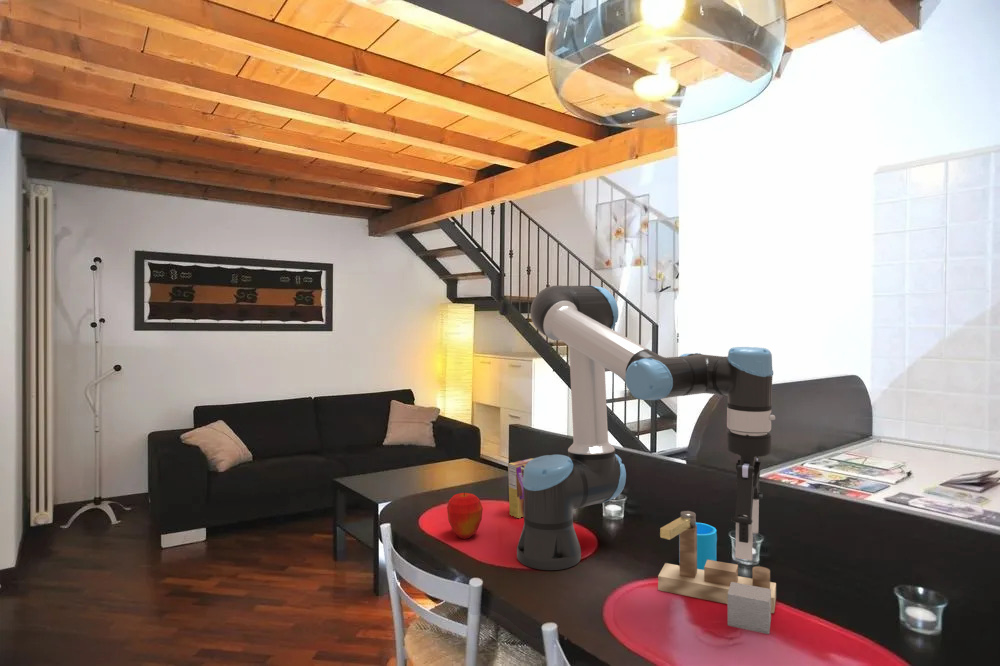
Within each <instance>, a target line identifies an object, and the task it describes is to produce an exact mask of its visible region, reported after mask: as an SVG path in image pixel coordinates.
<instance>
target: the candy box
mask: <svg viewBox="0 0 1000 666" xmlns="http://www.w3.org/2000/svg"><path fill="white" fill-rule="evenodd" d="M532 459H533V458H527V459H523V460H517V461H515V462H514V461H513V462H510V463H507V469H508V471H507V473H508V475H507V477H508V500H509V501H508V502H509V505H508V507H509V509H508V510H509V516H510V515H511V517H512V516H514V517H513V518H515V517H516V518H515V519H517V518H519V519H522V518H521V517H523V518H524V491H523V475H524V468H525V465H526V464H527V463H528V462H529V461H530V460H532Z"/></svg>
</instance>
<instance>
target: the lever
mask: <svg viewBox="0 0 1000 666" xmlns="http://www.w3.org/2000/svg"><path fill="white" fill-rule="evenodd" d="M696 517H697V515H696V513H695V512H694V511H691V510H682V511H680V517H678V518H676V519H674V520H673V521H671V522H669V523H667V524H665V525H663V526H662V527H660V528H659V529H660V530H659V531H660V532H659V536H660V538H661V539H665V540H669V541H670V540H672V539H674V538H675V537H677V536H679V534H680V533H682V532H683V531H685V530H687V529H688V528H690V527H695V526H696V523H697V521H696Z"/></svg>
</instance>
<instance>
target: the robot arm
mask: <svg viewBox="0 0 1000 666" xmlns="http://www.w3.org/2000/svg"><path fill="white" fill-rule="evenodd" d="M530 318H531V319H530V320H531V321H532V324H533V326H534V327H535V328H536V330H538V331H539V332H540V333H541V334H542V335H544V336H545V337H546V338H549V339H550V340H552V341H556V342H557V341H562V342H564V344H565V345H566V346H568V349H569V350H568V351H569V371H570V372H569V373H570V375H569V376H570V394H571V413H572V416H571V417H572V436H573V440H572V441H573V442H572V444H571V445H570V446H569V447H568V449H567V455H564V454H550V455H549V454H546V455H545V454H544V455H540V456H536V457H533V458H531V459H532V460H530V461H529V462H528V463H527V464H526V465H525V468H524V475H523V491H524V517H523V527H522V530H521V533H520V537H519V538H518V539H519V540H518V543H517V547H516V558H517V560H518V562H520V564H522V565H524V566H526V567H528V568H531V569H536V570H540V571H541V570H542V571H559V570H566V569H569V568H572V567H574V566H577V564H579V563H580V561H581V559H582V549H581V545H580V541H579V539H578V536H577V534H576V531H575V526H574V510H576V509H579V508H584V507H588V506H592V505H598V504H604V503H606V502H608V501H612V500H614V499H616V498H618V497H619V495H620V494H622V492H623V490H624V488H625V486H626V481H627V480H626V479H627V472H626V467H625V464H624V463H622V461H623V460H622V458H621V457H620V456H619V455H618V454H616V449H615V447H614V446H613V445H612V444H611V443H610V442H609V434H608V433H609V430H608V429H609V428H608V410H607V391H606V390H607V389H606V387H607V384H606V370H608V371H609V372H610V371H611V372H612V373H613V374H615V375H616V376H618V377H619V378H621V379H623V380H625V385H626V388H627V390H629V393H630V395H632V397H634V398H635V399H638V400H640V401H658V400H663V399H669V398H675V397H676V398H677V397H684V396H692V395H693V396H694V395H699V394H709V395H710V394H711V395H717V396H718V395H719V396H723V397H724V396H725V397H727V407H726V410H727V411H726V413H727V414H726V427H727V429H729V430H728V431H727V433H726V449H727V451H729V453H731V454H734V455H739V456H740V459H737V462H736V465H735V470H736V479H735V480H736V499H735V500H736V501H735V512H734V513H735V515H734V516H731V520H730V521H731V523H735V549H734V550H735V551H734V553H735V556H734V557H735V558H736V559H740V560H741V559H742V560H745V561H750V562H751V561H753V546H754V545H753V544H754V543H753V537H754V536H753V535H754V534H759V518H760V517H759V513H760V512H759V510H760V509H759V508H760V504H759V503H760V499H762V500H763V495H764V493H763V492H761V491H760V490H761V489H760V478H761V471H762V469H761V468H762V463H761V461H759V457H766V456H769V455H770V454H772V435H771V434H770V431H771V430H772V421H775V420H776V416H775V415H774V414H771V413H772V407H773V406H772V396H773V395H772V394H773V392H772V391H773V376H774V370H773V354H772V352H771V351H770V350H769V348H765V347H759V346H758V347H757V346H755V347H752V346H751V347H750V346H736V347H730V348H729V349H728V352H727V353H728V355H727V356H719V355H712V354H703V353H700V352H699V353H698V352H696V353H683V354H681V355H679V356H670V357H665V356H662V355H660V354H658V353H656V352H654V351H652V350H650V349H648V348H647V347H645V346H643V345H641V344H640V343H637V342H636V341H634V340H633V339H630V338H629V337H626V336H625V335H623V334H621V333H619V332H618V331H615V330H614V328H615V327H616V323H618V319H619V307H618V303H617V301H616V299H615V297H614V295H613V294H612V293H610V291H609V290H608V289H607V288H604V287H602V286H595V285H588V284H586V285H551V286H547V287H546V288H544V289H542V290H541V291H539V292H538V293H537V294H536V295H535V297H534V298H533V300H532V302H531V306H530ZM605 369H606V370H605Z"/></svg>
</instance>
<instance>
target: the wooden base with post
mask: <svg viewBox="0 0 1000 666" xmlns="http://www.w3.org/2000/svg"><path fill="white" fill-rule="evenodd" d="M678 537H679V538H678V547H679V548H678V550H679V549H680V563H679V565H678V564H673V563H668V562H664V565H663V567H662V568H661V570H660V572H659V574H658V575H657V590H658V591H660V592H661V591H662V592H666V593H672V594H676V595H681V596H686V597H691V598H695V599H700V600H705V601H711V602H716V603H719V604H720V603H721V604H726V605H728V591H729V587H730V584H731V582H735V583H740V584H746V585H751V586H757V587H762V588H768V589H771V614H775V611H776V610H775V609H776V601H777V583H776V582H772V581H771V569H770V568H768V567H766V566H765V567H764V566H761V565H760V566H757V565H756V566H753V567H752V568H751V569H752V571H751V572H752V578H751V577H745V576H739V564H736V563H730V562H724V561H717V560H716V561H713V560H707V562H706V564H705V566H704V570H701V569H697V525H696V526H695V527H690V528H688V529H687V530H685V531H683V532H682V533H680V534H679V535H678Z"/></svg>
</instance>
